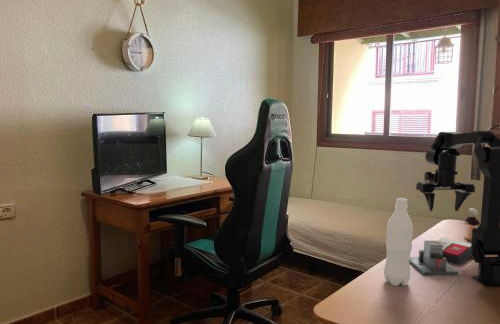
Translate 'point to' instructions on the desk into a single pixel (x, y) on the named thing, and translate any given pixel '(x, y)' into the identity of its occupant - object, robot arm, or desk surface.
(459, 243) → the button control pad
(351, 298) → the desk surface
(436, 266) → the stand base
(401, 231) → the water bottle
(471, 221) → the grandmother figurine
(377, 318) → the desk surface
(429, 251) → the column
